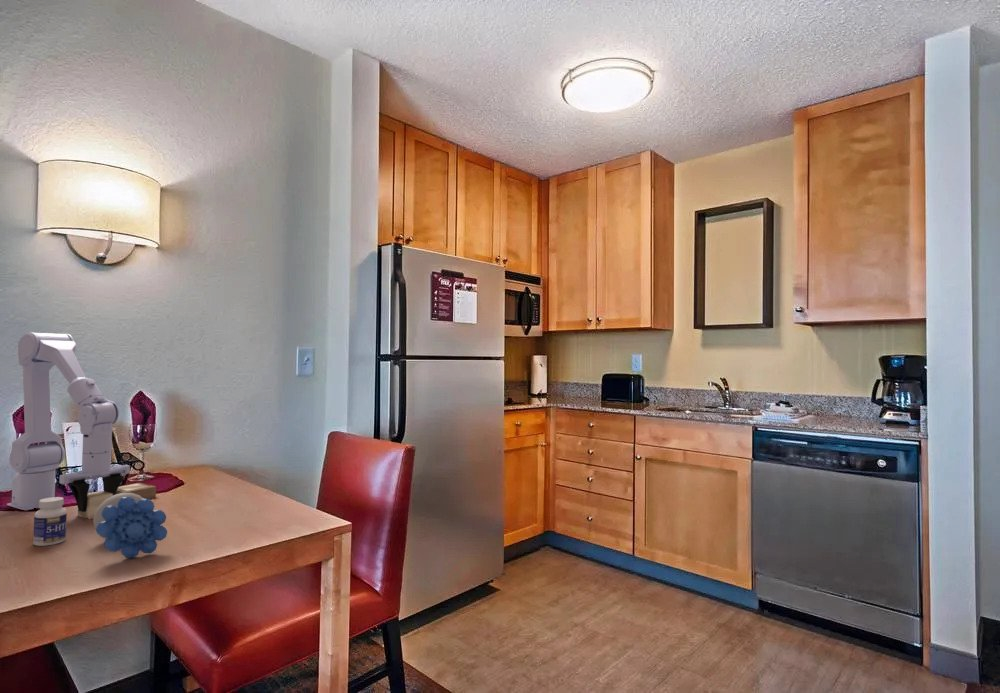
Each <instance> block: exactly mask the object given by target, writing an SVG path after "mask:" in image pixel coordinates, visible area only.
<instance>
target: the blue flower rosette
mask: <svg viewBox="0 0 1000 693" xmlns="http://www.w3.org/2000/svg"><path fill="white" fill-rule="evenodd" d="M154 508H155V504H154V502H153V501H152V499H144V498H143V499H141V500H139V501H138V502H137V504H136V501H135V500H134V499H133V498H132V497H123V498H121V499H120V500H119V502H118V507H116V506H110V505H109V506H107V507H105V508H104V509H103V511H102V517H103V518H104V519H105V520H106V521H103V522H101V523H99V524H98V525H97V528H96V530H95V532H96V531H97V532H96V533H97V535H98V536H100V537H101V538H103V537H108V538H106V539H104V542H103V547H104V548H105V549H106V550H107V551H108V552H112V553H114V552H115V553H117V552H118V551H120V553H121V555H122V556H123V557H124V558H126V559H133V558H136V557H137V556H138V555H139V553H140V551H141V552H142V553H143V554H152V553H153V552H154V551H156V549H157V546H158V544H157V543H158V542H157V541H162V540H164V539H166V537H167V535H168V530H167V528H166V527H165V526H164V525H162V524H164V523H165V522H166V520H167V514H166V513H165V512H164V511H163V510H161V509H154Z"/></svg>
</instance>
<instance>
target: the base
mask: <svg viewBox="0 0 1000 693" xmlns="http://www.w3.org/2000/svg"><path fill="white" fill-rule="evenodd" d="M120 493H133V494H137V495H139V496H141V497H142V498H144V499H150V500H152V499H155V498H156V497H157V486H155V485H152V484H146V483H143V482H136V483H130V484H126V485H125V484H124V485H119V487H118V489H117V491H116V493H115V495H116V494H120Z"/></svg>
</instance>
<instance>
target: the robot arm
mask: <svg viewBox="0 0 1000 693" xmlns="http://www.w3.org/2000/svg"><path fill="white" fill-rule="evenodd" d="M76 349H77V343H76V342H75V340H74V337H73V336H72V335H71V334H70V333H50V332H33V331H26V332H25V333H23V335H22V336H21V337H20V339H19V340H18V341H17V352H18V364H19V365H20V366H21V367H22V386H23V387H22V388H23V412H24V416H23V417H24V418H23V420H24V433H23V434H21V435H20V436H19V437H17V438H16V439H14V440H13V441H12V442H11V450H10V454H9V459H8V460H9V464H10V467H11V468H12V469H13V470H14V471H15V473H16V474H15V475H14V477H13V478H12V484H11V485H12V486H11V487H12V488H11V489H12V490H11V502H9V503H6V505H7V507H12V508H15V509H19V510H21V511H22V510H23V511H29V510H34V508H36V509H40V508H39V501H40V500H41V499H45V498H51V497H56V495H55V493H56V470H57V469H59V467H60V465H61V464H62V463H63V462H64V460H65V458H66V450H65V447H64V445H63V441H62V440H63V439H62V436H61V435H59V434H57V433H56V432H54V431H53V430H52V417H51V416H52V415H51V396H50V395H51V393H50V392H51V390H50V388H51V387H50V370H51V369H52V368H53V367H54V366H56V368H57V369H58V370H59V372H60V373H61V375H63V377H64V378H65V379H66V382H68V383H69V385H68V386H67V388H66V390H67V392H68V394H69V396H70V398H71V399H72V401H73V403H74V404H75V406H76V408H77V409H78V414H76V418H77V421H78V424H79V429H80V430H79V431H80V433H81V434H82V455H81V458H82V459H81V470H78V471H74V472H73V471H72V472H69V473H65V474H60V475H59V484H61V485H67V487H68V488H69V489H70V491H71V492H72V495H73V497H74V499H75V502H76V505H77V512H78V511H81V512H85V511H86V509H87V495H88V493H89V489H90V486H91V484H90V483H89V482H87V481H88V480H95V479H100V478H101V479H102V485H103V486H102V487H103V491H104V492H109V493H113V495H115V493H116V491H117V489H118V487H119V486H121V483H122V482H124V478H125V477H124V476H125V475H128V474H131V465H128V464H124V465H122V464H121V465H113V466H112V448H113V447H112V445H113V444H112V441H113V425H114V424H116V422H117V421H118V419H119V416H120V415H119V413H120V412H119V408H118V405H117V404H116V402H115V401H112V400H109V398H105V396H104V395H103V393H102V391H101V389H99V387H98V385H97V384H96V383H97V382H95V380H94V379H93V378H90V377H86V376H85V373H84V371H83V369H82V367H81V365H80V363H79V360H78V358H77V356H76V351H77V350H76ZM123 474H124V476H123Z"/></svg>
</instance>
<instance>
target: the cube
mask: <svg viewBox="0 0 1000 693" xmlns="http://www.w3.org/2000/svg"><path fill="white" fill-rule="evenodd" d="M111 496H113V493H109V492H104V490H99V491H95V492H88V495H87V509H86V511H85V512H81V511H78V510H77V517H81V518H83V517H84V519H87V518H88V519H87V520H91V518H92V519H94V515H95V512H96V510H97V509H98V507H99V505H100V504H102V503H103V502H104V501H105V500H106V499H108V498H109V497H111Z"/></svg>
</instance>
